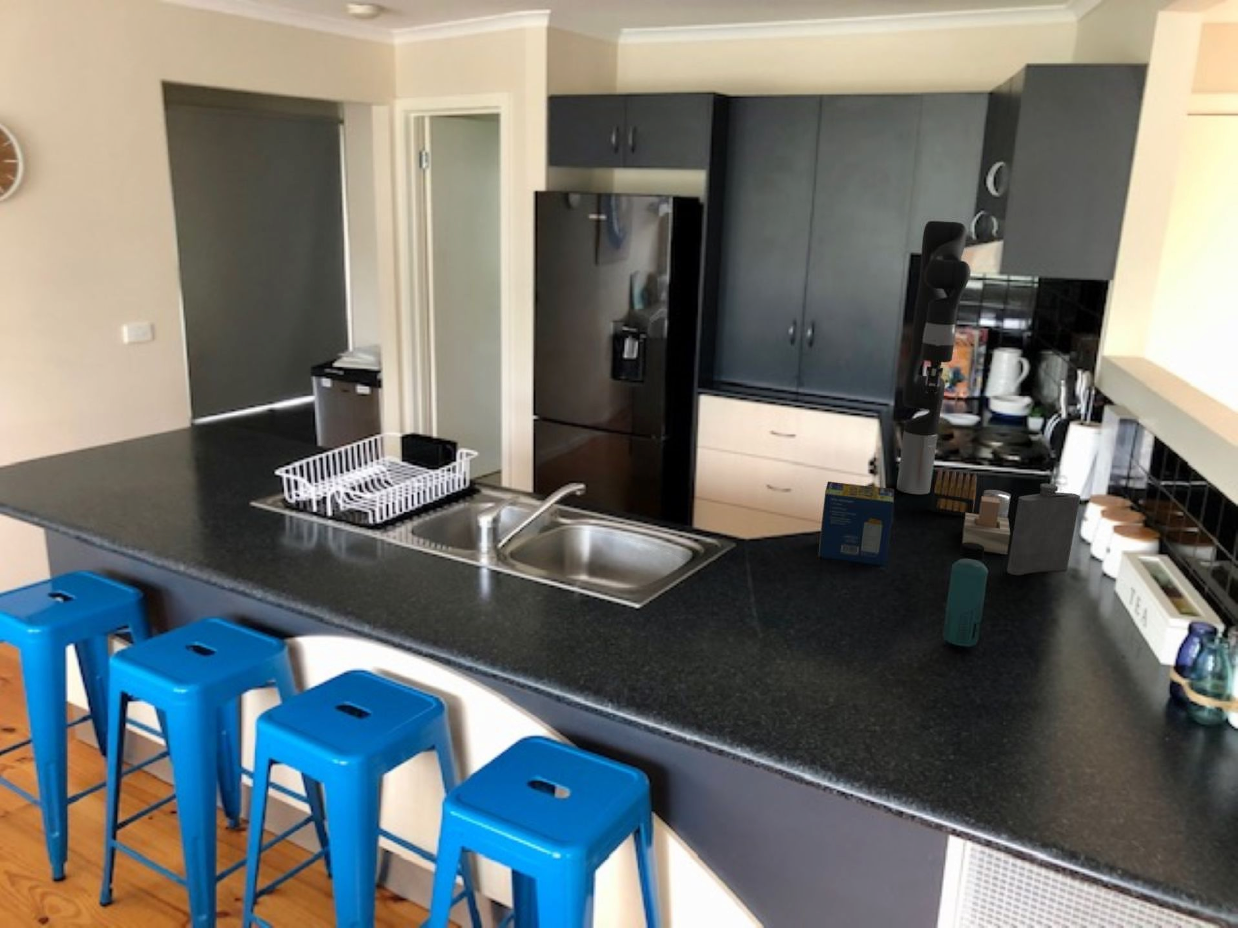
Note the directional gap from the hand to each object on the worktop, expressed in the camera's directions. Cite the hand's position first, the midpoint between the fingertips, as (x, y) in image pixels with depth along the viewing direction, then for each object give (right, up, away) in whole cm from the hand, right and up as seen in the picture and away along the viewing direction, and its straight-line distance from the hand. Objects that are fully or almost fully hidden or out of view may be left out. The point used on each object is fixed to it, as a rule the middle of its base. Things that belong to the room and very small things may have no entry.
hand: (930, 405), depth 243 cm
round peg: (+17, -31, +3) cm, 36 cm away
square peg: (+10, -33, -9) cm, 36 cm away
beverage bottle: (-16, -49, -66) cm, 84 cm away
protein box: (-25, -36, -21) cm, 49 cm away
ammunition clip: (+10, -28, +12) cm, 33 cm away
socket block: (+10, -34, -9) cm, 37 cm away
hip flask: (+16, -39, -25) cm, 49 cm away
